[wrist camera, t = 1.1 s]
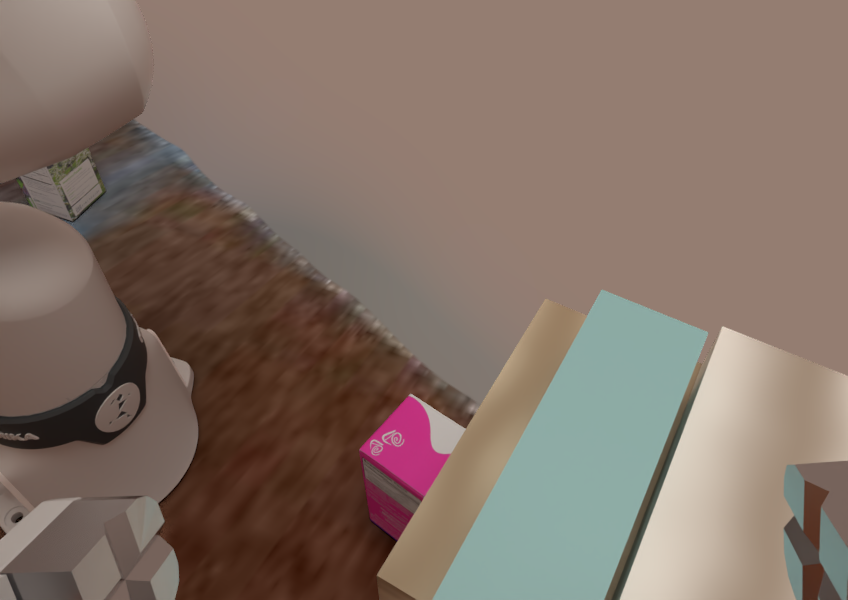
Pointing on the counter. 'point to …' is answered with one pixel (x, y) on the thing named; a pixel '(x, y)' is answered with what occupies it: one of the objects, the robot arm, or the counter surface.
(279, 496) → the counter surface
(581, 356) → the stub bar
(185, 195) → the counter surface
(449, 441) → the supplement box
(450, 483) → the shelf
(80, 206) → the syrup box
